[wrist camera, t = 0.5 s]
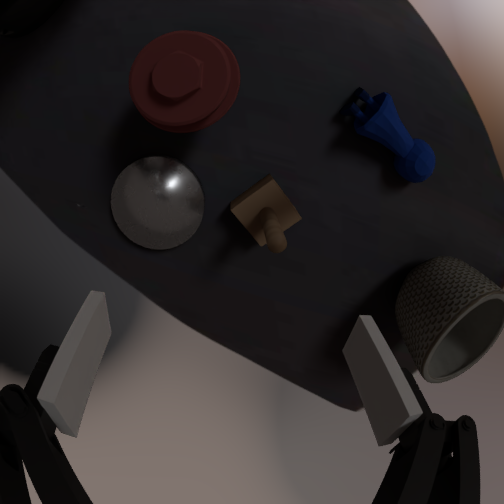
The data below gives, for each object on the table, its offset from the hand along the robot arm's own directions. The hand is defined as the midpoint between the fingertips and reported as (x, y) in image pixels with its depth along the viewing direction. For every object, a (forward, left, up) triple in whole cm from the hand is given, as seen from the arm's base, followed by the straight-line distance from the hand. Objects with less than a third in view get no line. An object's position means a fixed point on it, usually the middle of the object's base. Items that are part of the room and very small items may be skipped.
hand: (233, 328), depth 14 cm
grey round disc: (-3, -9, -24) cm, 26 cm away
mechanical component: (-14, +1, -24) cm, 28 cm away
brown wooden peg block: (+3, +3, -24) cm, 25 cm away
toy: (0, +22, -25) cm, 33 cm away
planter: (+26, +24, -24) cm, 43 cm away
